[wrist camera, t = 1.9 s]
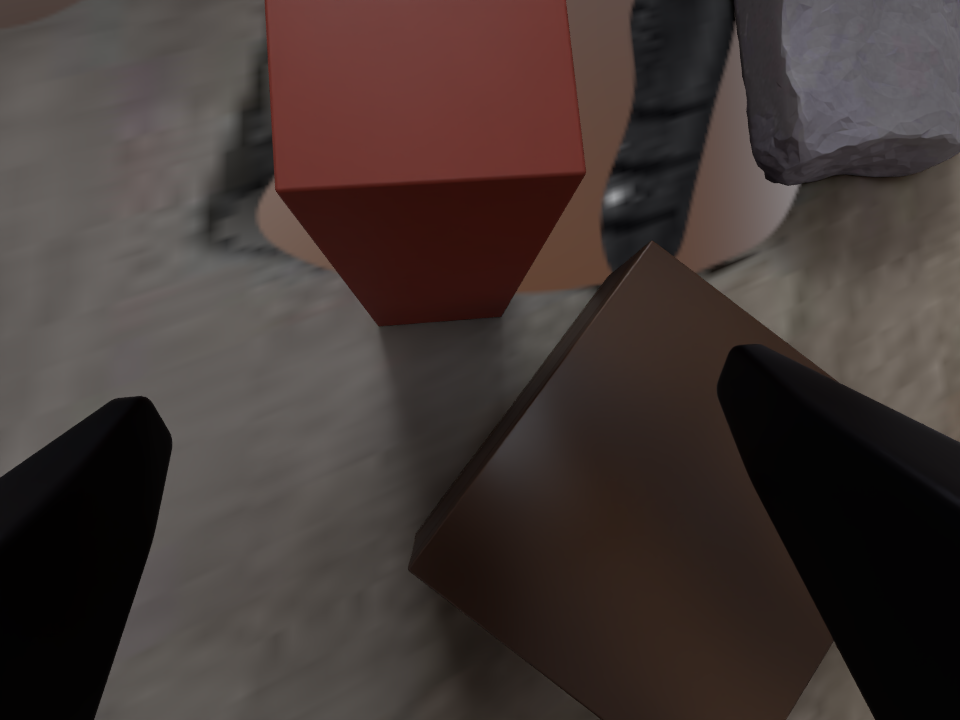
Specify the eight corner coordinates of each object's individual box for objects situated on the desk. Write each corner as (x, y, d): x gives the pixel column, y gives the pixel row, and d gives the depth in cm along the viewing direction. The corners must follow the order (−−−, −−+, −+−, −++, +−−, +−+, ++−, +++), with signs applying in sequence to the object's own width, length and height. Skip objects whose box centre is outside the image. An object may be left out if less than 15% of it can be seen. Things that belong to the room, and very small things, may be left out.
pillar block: (501, 316, 21) (587, 173, 8) (378, 326, 20) (273, 192, 8) (490, 199, 21) (554, -102, 9) (369, 206, 21) (258, -98, 8)
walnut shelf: (663, 725, 20) (728, 818, 15) (415, 534, 20) (406, 570, 15) (838, 451, 21) (943, 461, 17) (608, 275, 21) (652, 239, 17)
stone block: (873, -27, 26) (707, -65, 23) (992, -122, 21) (801, -183, 18) (900, 204, 25) (731, 194, 22) (1029, 159, 20) (835, 140, 17)
